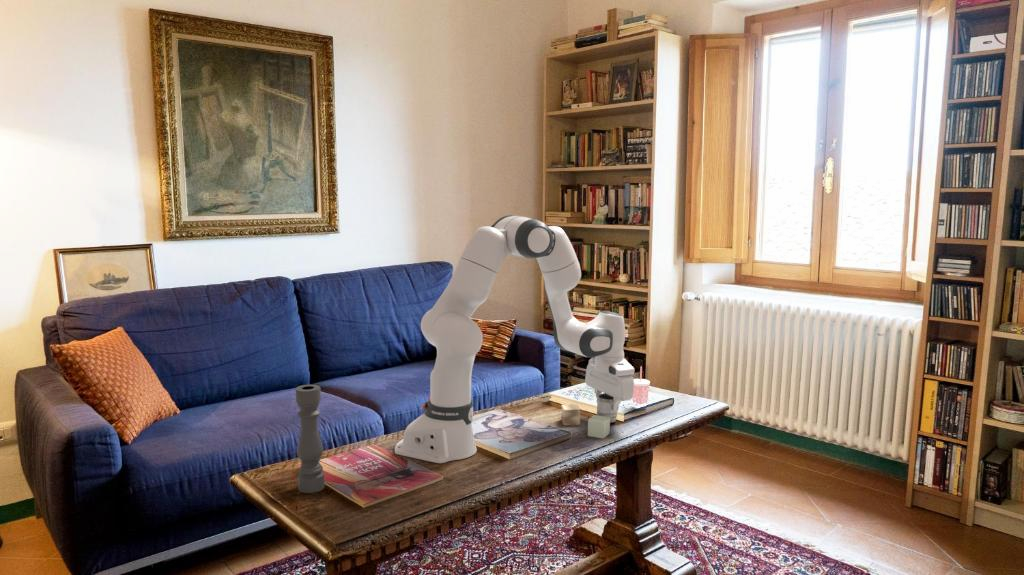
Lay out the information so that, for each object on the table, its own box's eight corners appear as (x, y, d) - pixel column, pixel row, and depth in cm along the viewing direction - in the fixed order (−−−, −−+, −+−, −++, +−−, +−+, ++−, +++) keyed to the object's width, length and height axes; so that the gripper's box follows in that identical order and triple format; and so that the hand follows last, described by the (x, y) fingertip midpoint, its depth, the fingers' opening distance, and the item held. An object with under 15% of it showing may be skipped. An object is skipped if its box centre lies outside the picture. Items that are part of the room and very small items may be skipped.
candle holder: (304, 481, 178) (300, 383, 174) (328, 482, 178) (325, 384, 174) (294, 492, 172) (290, 391, 168) (319, 493, 172) (315, 392, 168)
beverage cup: (634, 411, 235) (635, 369, 232) (627, 405, 240) (629, 364, 238) (651, 410, 236) (653, 368, 234) (644, 404, 242) (646, 363, 240)
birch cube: (563, 425, 221) (564, 409, 220) (561, 420, 225) (561, 404, 225) (579, 425, 221) (580, 409, 220) (577, 419, 226) (577, 404, 225)
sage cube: (587, 436, 212) (588, 419, 211) (593, 430, 216) (593, 414, 215) (603, 439, 210) (604, 422, 209) (609, 433, 214) (609, 417, 213)
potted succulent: (610, 424, 219) (611, 399, 218) (592, 419, 223) (593, 395, 222) (620, 419, 224) (621, 395, 223) (603, 415, 228) (604, 391, 227)
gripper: (581, 356, 229) (579, 399, 231) (621, 372, 211) (619, 418, 213) (597, 354, 232) (596, 396, 234) (638, 370, 214) (636, 415, 216)
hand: (607, 406), depth 223 cm, fingers closed on potted succulent, 6 cm apart
